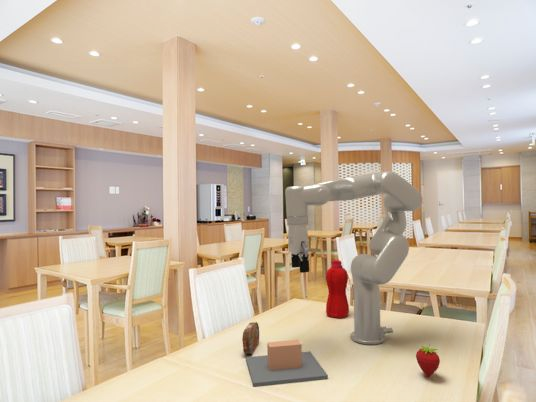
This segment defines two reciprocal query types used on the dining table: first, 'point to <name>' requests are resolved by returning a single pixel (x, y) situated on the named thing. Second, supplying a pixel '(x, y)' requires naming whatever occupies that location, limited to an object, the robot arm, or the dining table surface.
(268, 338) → the dining table surface
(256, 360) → the mat
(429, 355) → the strawberry
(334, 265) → the water bottle
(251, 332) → the brown rounded slab
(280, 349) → the card box
